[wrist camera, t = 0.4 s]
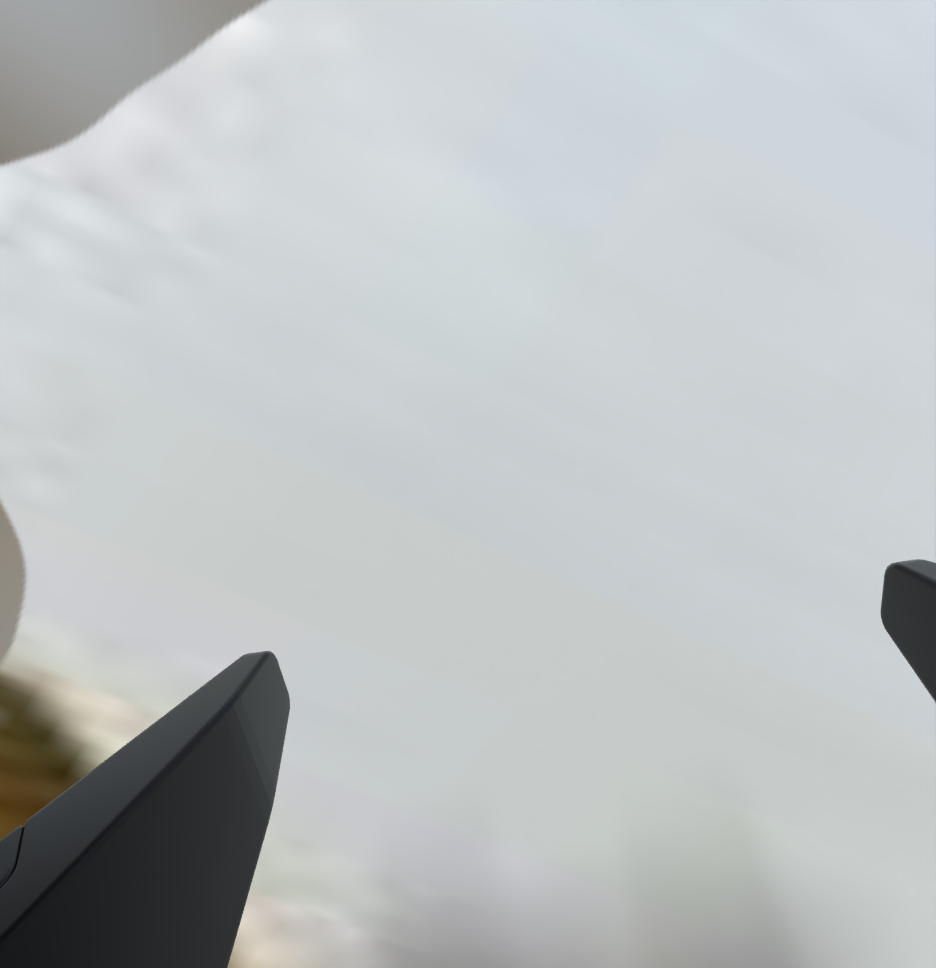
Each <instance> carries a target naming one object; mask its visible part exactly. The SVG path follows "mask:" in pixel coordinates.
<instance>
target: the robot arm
mask: <svg viewBox="0 0 936 968" xmlns="http://www.w3.org/2000/svg"><path fill="white" fill-rule="evenodd" d="M881 619H882V622H883V625H884V627H885V629H886V631H887V632H888V634H889V635H890V637H891V638H892V640H893V641H894V643H895V644H896V645H897V647H898V648H899V650H900V651H901V653H902V654H903V656H904V657H905V658H906V660H907V661H908V663H909V664H910V666H911V667H912V669H913V670H914V672H915V673H916V674H917V676H918V677H919V679H920V680H921V682H922V683H923V685H924V686H925V687H926V689H927V690H928V692H929V693H930V695H931V696H932V698H933V699H934V701H935V702H936V563H934V562H930V561H926V560H918V559H916V560H909V561H902V562H896V563H892V564H890V565H889V566H888V567H887V569H886V571H885V575H884V584H883V594H882V603H881ZM289 710H290V699H289V694H288V690H287V687H286V684H285V682H284V679H283V676H282V673H281V670H280V667H279V664H278V661H277V658H276V656H275V655H274V654H273V653H272V652H270V651H264V652H257V653H249V654H245V655H243V656H242V657H240V658H239V659H238V660H236V661H235V662H234V663H232V664H231V665H230V666H228V667H227V668H226V669H225V670H223V671H222V672H221V673H219V674H218V675H217V676H215V677H214V678H213V679H211V680H210V681H209V682H207V683H206V684H205V685H204V686H202V687H201V688H200V689H198V690H197V691H196V692H194V693H193V694H192V695H190V696H189V697H188V698H187V699H185V700H184V701H183V702H181V703H180V704H179V705H177V706H176V707H175V708H173V709H172V710H171V711H169V712H168V713H167V714H166V715H164V716H163V717H162V718H160V719H159V720H158V721H156V722H155V723H154V724H152V725H151V726H150V727H149V728H147V729H146V730H145V731H143V732H142V733H141V734H139V735H138V736H137V737H135V738H134V739H133V740H131V741H130V742H129V743H128V744H126V745H125V746H124V747H122V748H121V749H120V750H118V751H117V752H116V753H114V754H113V755H112V756H111V757H109V758H108V759H107V760H105V761H104V762H103V763H101V764H100V765H99V766H97V767H96V768H95V769H93V770H92V771H91V772H90V773H88V774H87V775H86V776H84V777H83V778H82V779H80V780H79V781H78V782H76V783H75V784H74V785H73V786H71V787H70V788H69V789H67V790H66V791H65V792H63V793H62V794H61V795H59V796H58V797H57V798H55V799H54V800H53V801H52V802H50V803H49V804H48V805H46V806H45V807H44V808H42V809H41V810H40V811H38V812H37V813H36V814H35V815H33V816H32V817H31V818H29V819H28V820H27V821H26V822H25V825H24V827H23V826H19V827H17V828H16V829H15V830H13V831H12V832H11V833H9V834H8V835H7V836H5V837H4V838H3V839H2V840H0V968H227V967H228V963H229V960H230V956H231V953H232V949H233V946H234V942H235V939H236V935H237V932H238V928H239V925H240V921H241V918H242V914H243V911H244V907H245V903H246V900H247V896H248V893H249V889H250V886H251V882H252V879H253V875H254V872H255V868H256V865H257V861H258V858H259V854H260V851H261V847H262V844H263V840H264V837H265V833H266V830H267V826H268V823H269V819H270V815H271V811H272V807H273V802H274V797H275V792H276V786H277V781H278V775H279V769H280V763H281V757H282V751H283V746H284V740H285V734H286V728H287V722H288V716H289Z"/></svg>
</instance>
